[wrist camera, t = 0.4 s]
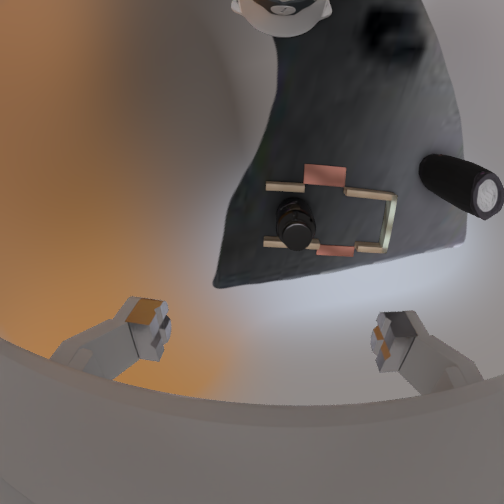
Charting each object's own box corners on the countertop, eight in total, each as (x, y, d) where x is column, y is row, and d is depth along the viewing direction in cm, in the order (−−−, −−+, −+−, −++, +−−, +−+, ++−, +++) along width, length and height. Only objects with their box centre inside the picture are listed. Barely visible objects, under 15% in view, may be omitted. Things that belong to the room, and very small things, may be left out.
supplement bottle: (285, 190, 52) (288, 208, 42) (316, 206, 53) (327, 228, 42) (270, 221, 55) (268, 246, 44) (300, 235, 56) (306, 263, 45)
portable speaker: (418, 147, 46) (476, 163, 28) (452, 157, 45) (511, 177, 28) (412, 188, 49) (465, 219, 32) (445, 194, 49) (501, 226, 31)
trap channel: (267, 161, 50) (266, 163, 48) (395, 174, 49) (400, 176, 46) (263, 251, 58) (263, 256, 56) (380, 257, 57) (384, 262, 54)
